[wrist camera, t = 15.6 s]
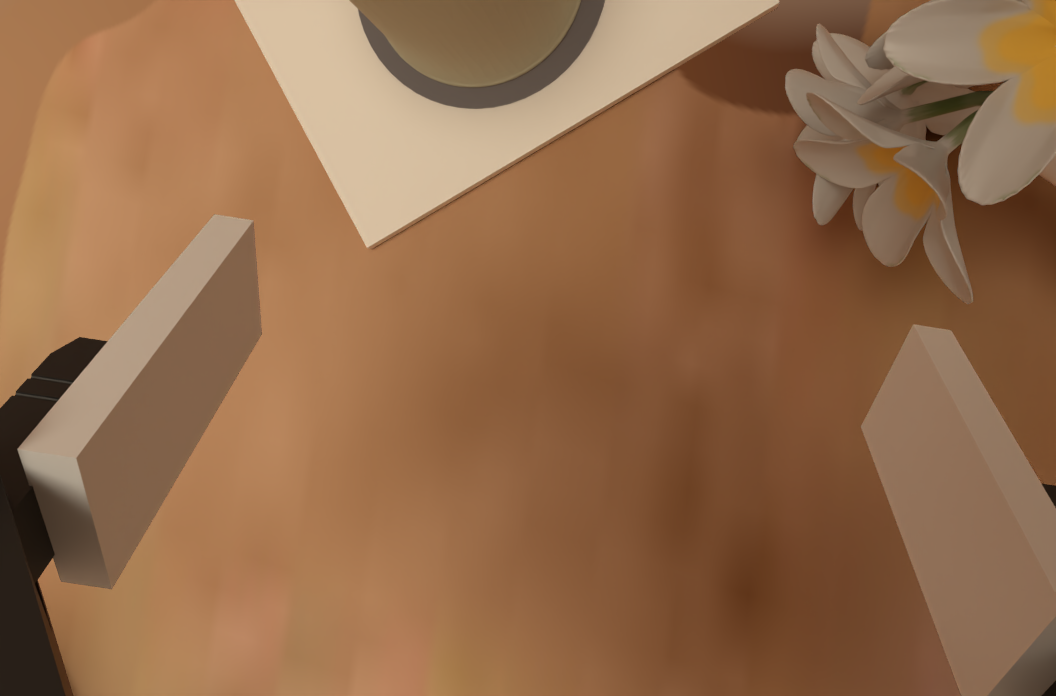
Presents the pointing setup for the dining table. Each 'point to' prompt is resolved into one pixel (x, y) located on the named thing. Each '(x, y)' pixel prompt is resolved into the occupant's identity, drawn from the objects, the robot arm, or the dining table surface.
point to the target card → (462, 95)
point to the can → (472, 35)
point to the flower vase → (929, 121)
